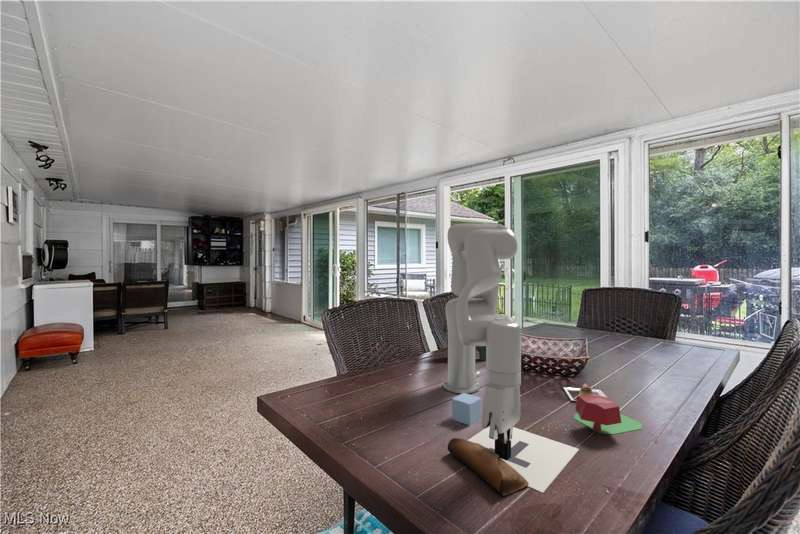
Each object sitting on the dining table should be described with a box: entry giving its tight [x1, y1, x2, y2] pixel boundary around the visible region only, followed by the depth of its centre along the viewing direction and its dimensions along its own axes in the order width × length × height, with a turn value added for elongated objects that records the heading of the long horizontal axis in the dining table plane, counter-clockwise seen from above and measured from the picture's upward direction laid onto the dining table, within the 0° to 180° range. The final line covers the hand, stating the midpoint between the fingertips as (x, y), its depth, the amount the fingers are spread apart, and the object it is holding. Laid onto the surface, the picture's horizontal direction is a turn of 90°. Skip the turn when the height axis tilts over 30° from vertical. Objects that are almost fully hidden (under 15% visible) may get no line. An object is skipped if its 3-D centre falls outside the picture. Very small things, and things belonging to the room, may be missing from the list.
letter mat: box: [466, 426, 580, 494], centre depth 87 cm, size 22×22×1 cm
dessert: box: [562, 383, 607, 402], centre depth 121 cm, size 12×12×5 cm
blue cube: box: [451, 393, 483, 426], centre depth 105 cm, size 6×6×6 cm
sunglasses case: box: [447, 437, 528, 497], centre depth 80 cm, size 18×7×7 cm
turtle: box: [573, 393, 643, 436], centre depth 101 cm, size 15×20×9 cm
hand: (502, 456), depth 83 cm, fingers closed
